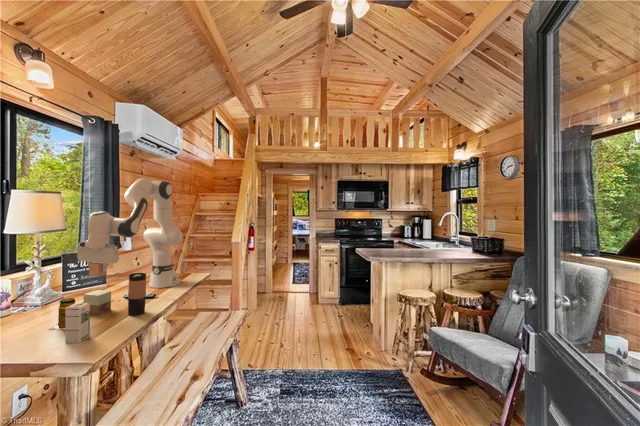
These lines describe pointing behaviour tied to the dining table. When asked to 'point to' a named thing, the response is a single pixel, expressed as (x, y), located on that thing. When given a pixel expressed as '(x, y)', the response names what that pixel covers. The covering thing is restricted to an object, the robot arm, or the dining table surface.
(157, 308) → the dining table surface
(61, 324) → the condiment
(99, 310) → the block low
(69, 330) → the syrup box
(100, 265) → the block small
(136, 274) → the travel mug
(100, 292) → the block top
